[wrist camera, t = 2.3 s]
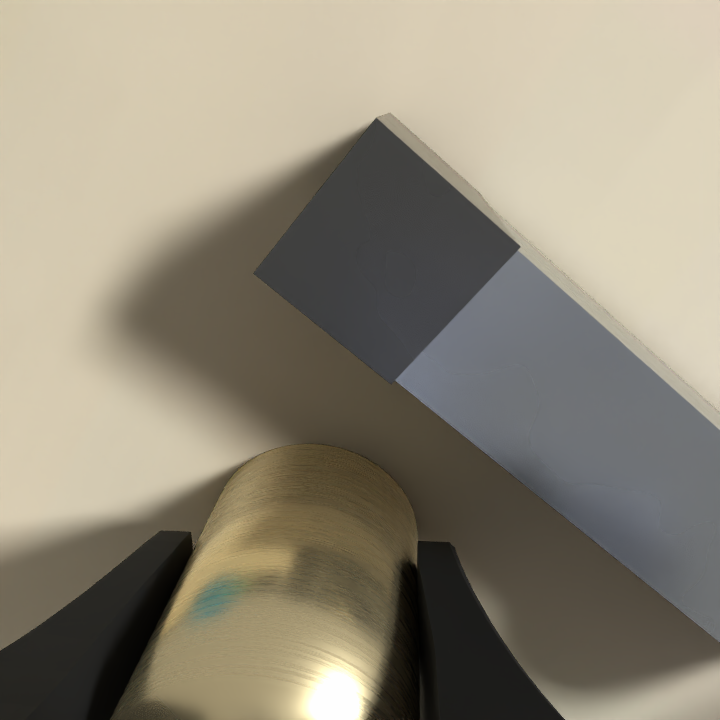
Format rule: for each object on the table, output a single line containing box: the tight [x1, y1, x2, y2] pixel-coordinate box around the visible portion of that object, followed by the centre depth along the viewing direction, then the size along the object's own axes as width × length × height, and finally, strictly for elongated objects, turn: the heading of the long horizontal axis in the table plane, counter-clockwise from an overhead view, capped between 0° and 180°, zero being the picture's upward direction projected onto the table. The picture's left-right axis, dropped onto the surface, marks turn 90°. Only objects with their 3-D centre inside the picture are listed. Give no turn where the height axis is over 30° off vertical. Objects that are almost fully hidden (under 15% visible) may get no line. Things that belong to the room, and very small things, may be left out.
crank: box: [253, 113, 720, 642], centre depth 10 cm, size 14×4×5 cm, turn 50°
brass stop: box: [110, 444, 420, 720], centre depth 12 cm, size 4×4×6 cm
